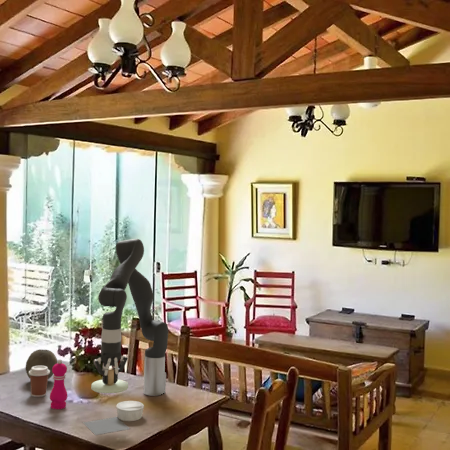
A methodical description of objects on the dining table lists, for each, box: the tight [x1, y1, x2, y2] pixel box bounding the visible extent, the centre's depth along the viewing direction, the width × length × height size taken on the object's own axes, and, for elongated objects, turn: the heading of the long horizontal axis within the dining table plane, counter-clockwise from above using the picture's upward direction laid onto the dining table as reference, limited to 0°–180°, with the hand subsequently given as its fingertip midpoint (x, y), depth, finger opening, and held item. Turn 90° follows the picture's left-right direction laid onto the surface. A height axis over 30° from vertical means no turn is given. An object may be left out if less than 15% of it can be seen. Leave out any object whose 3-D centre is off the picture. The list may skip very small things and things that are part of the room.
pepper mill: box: [49, 359, 68, 410], centre depth 253 cm, size 7×7×20 cm
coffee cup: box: [29, 366, 50, 398], centre depth 268 cm, size 9×9×12 cm
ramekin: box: [115, 400, 145, 422], centre depth 245 cm, size 11×11×5 cm
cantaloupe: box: [25, 349, 58, 380], centre depth 286 cm, size 14×14×15 cm
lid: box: [90, 367, 129, 394], centre depth 234 cm, size 14×14×7 cm
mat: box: [82, 416, 131, 436], centre depth 234 cm, size 14×14×1 cm
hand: (109, 383), depth 234 cm, fingers closed on lid, 3 cm apart
